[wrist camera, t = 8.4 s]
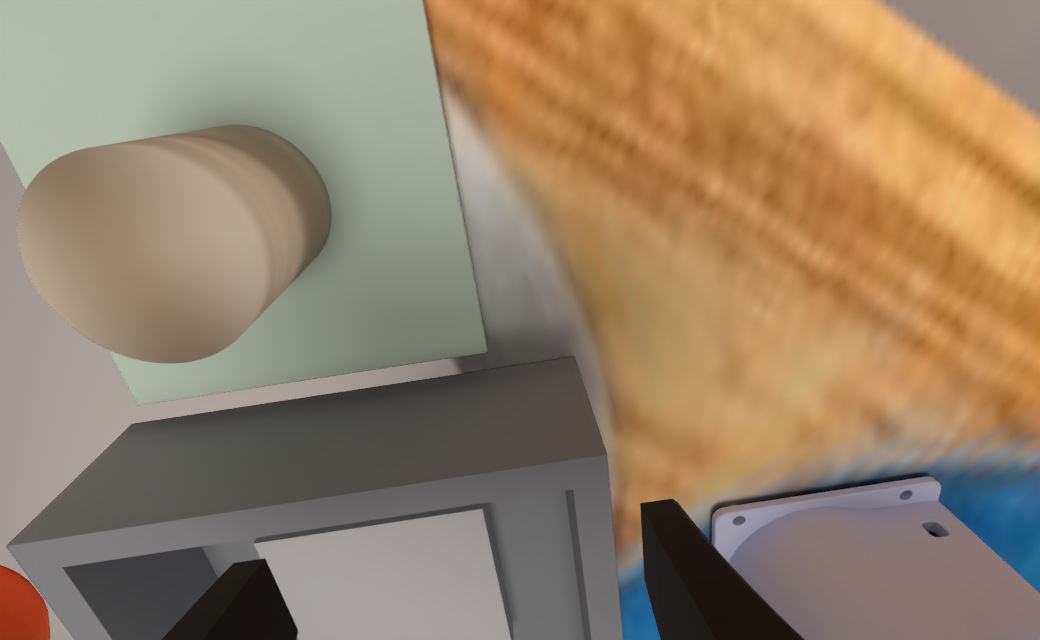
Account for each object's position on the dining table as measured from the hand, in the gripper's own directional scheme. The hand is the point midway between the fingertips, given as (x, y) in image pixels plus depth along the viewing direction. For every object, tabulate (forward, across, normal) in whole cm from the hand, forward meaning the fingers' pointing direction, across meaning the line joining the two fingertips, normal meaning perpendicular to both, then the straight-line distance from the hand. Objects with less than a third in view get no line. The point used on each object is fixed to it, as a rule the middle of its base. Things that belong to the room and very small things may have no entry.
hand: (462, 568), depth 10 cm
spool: (+8, +6, -6) cm, 12 cm away
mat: (+9, +6, -6) cm, 12 cm away
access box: (+9, +4, +9) cm, 14 cm away
